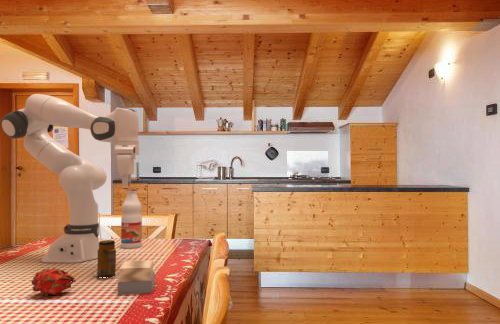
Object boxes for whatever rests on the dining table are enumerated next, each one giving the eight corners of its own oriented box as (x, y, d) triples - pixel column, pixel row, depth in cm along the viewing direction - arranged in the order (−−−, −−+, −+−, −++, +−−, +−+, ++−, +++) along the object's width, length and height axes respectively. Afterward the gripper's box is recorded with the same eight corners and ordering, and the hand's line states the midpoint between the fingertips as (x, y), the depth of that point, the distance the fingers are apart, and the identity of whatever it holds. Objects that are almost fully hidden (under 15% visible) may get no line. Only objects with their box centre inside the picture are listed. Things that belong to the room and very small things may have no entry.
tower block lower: (117, 296, 111) (117, 282, 111) (122, 285, 121) (122, 273, 121) (152, 294, 113) (152, 281, 113) (154, 284, 123) (154, 272, 123)
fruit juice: (145, 245, 182) (146, 188, 182) (133, 249, 173) (133, 189, 173) (129, 244, 185) (130, 187, 186) (116, 248, 176) (117, 188, 177)
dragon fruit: (28, 300, 110) (72, 303, 113) (23, 290, 104) (70, 293, 107) (37, 272, 116) (78, 275, 119) (33, 261, 109) (77, 265, 112)
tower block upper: (119, 282, 112) (119, 268, 112) (124, 273, 121) (124, 261, 121) (150, 280, 113) (150, 267, 113) (153, 272, 122) (153, 260, 122)
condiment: (113, 271, 136) (113, 238, 136) (121, 276, 129) (122, 242, 130) (92, 275, 131) (92, 241, 132) (100, 280, 125) (100, 244, 125)
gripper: (121, 151, 151) (121, 185, 150) (113, 148, 131) (113, 187, 130) (137, 151, 152) (137, 185, 152) (132, 148, 132) (132, 187, 132)
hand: (126, 186), depth 141 cm, fingers open, 8 cm apart
